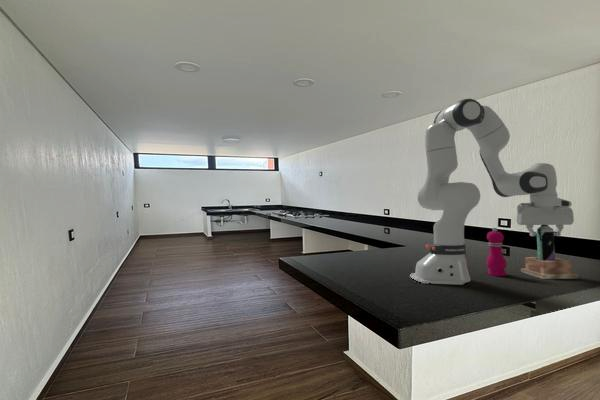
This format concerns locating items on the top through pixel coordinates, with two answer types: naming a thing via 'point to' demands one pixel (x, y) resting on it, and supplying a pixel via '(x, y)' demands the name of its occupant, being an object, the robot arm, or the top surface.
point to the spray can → (545, 243)
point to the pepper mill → (496, 254)
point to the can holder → (549, 268)
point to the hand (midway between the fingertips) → (545, 236)
